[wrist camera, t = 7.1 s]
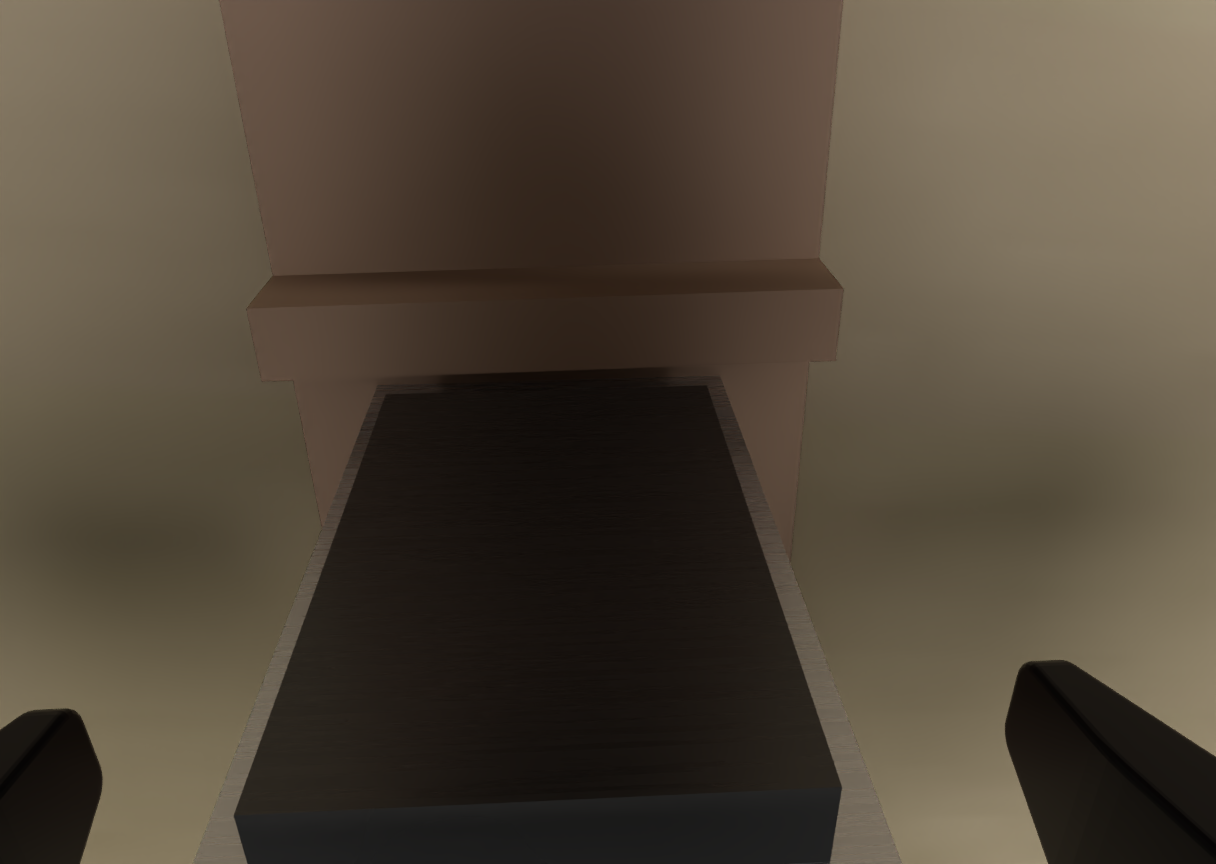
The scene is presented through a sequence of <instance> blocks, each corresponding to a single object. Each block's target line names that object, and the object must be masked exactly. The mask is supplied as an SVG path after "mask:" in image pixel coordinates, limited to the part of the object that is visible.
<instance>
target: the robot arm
mask: <svg viewBox="0 0 1216 864" xmlns="http://www.w3.org/2000/svg"><path fill="white" fill-rule="evenodd" d="M1005 737H1006V743H1007V747H1008V750H1009V753H1010V756H1011V759H1012V762H1013V765H1014V767H1015V770H1016V773H1017V776H1018V779H1019V782H1020V785H1021V787H1022V790H1023V793H1024V796H1025V799H1026V802H1027V805H1028V807H1029V810H1030V813H1031V816H1032V819H1033V822H1034V825H1035V828H1036V830H1037V833H1038V836H1039V839H1040V842H1041V845H1042V848H1043V850H1044V853H1045V856H1046V859H1047V862H1048V864H1216V757H1215V756H1214V755H1212V754H1211V753H1209V752H1208V751H1206V750H1205V749H1203V748H1201V747H1200V746H1198V745H1197V744H1195V743H1194V742H1192V741H1191V740H1189V739H1188V738H1186V737H1185V736H1183V735H1182V734H1180V733H1178V732H1177V731H1175V730H1174V729H1172V728H1171V727H1169V726H1168V725H1166V724H1165V723H1163V722H1162V721H1160V720H1159V719H1157V718H1155V717H1154V716H1152V715H1151V714H1149V713H1148V712H1146V711H1145V710H1143V709H1142V708H1140V707H1139V706H1137V705H1136V704H1134V703H1132V702H1131V701H1129V700H1128V699H1126V698H1125V697H1123V696H1122V695H1120V694H1119V693H1117V692H1116V691H1114V690H1113V689H1111V688H1109V687H1108V686H1106V685H1105V684H1103V683H1102V682H1100V681H1099V680H1097V679H1096V678H1094V677H1093V676H1091V675H1090V674H1088V673H1086V672H1085V671H1083V670H1082V669H1080V668H1079V667H1077V666H1076V665H1074V664H1072V663H1070V662H1068V661H1064V660H1048V661H1030V662H1027V663H1025V664H1024V665H1022V667H1021V668H1020V669H1019V672H1018V675H1017V678H1016V682H1015V686H1014V690H1013V694H1012V698H1011V702H1010V706H1009V710H1008V714H1007V718H1006V723H1005ZM102 780H103V778H102V771H101V767H100V764H99V761H98V759H97V756H96V753H95V751H94V748H93V746H92V743H91V740H90V738H89V735H88V733H87V730H86V727H85V725H84V722H83V720H82V718H81V716H80V715H79V714H78V713H77V712H76V711H74V710H72V709H46V710H33V711H29V712H26V713H24V714H22V715H21V716H19V717H18V718H16V719H15V720H13V721H12V722H11V723H9V724H8V725H6V726H5V727H4V728H2V729H1V730H0V864H80V862H81V859H82V856H83V852H84V849H85V846H86V842H87V839H88V836H89V833H90V829H91V826H92V823H93V820H94V816H95V813H96V810H97V806H98V803H99V800H100V796H101V792H102Z"/></svg>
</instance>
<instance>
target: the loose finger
mask: <svg viewBox="0 0 1216 864" xmlns="http://www.w3.org/2000/svg"><path fill="white" fill-rule="evenodd" d="M193 864H902V862H901V859H900V856H899V854H898V851H897V848H896V846H895V843H894V840H893V838H892V835H891V832H890V830H889V827H888V824H887V821H886V819H885V816H884V813H883V811H882V808H881V805H880V803H879V800H878V797H877V795H876V792H875V789H874V787H873V784H872V781H871V779H870V776H869V773H868V771H867V768H866V765H865V763H864V760H863V757H862V755H861V752H860V749H859V746H858V744H857V741H856V738H855V736H854V733H853V730H852V728H851V725H850V722H849V720H848V717H847V714H846V712H845V709H844V706H843V704H842V701H841V698H840V696H839V693H838V690H837V688H836V685H835V682H834V679H833V677H832V674H831V671H830V669H829V666H828V663H827V661H826V658H825V655H824V653H823V650H822V647H821V645H820V642H819V639H818V637H817V634H816V631H815V629H814V626H813V623H812V621H811V618H810V615H809V613H808V610H807V607H806V604H805V602H804V599H803V596H802V594H801V591H800V588H799V586H798V583H797V580H796V578H795V575H794V572H793V570H792V567H791V564H790V562H789V559H788V556H787V554H786V551H785V548H784V546H783V543H782V540H781V538H780V535H779V532H778V529H777V527H776V524H775V521H774V519H773V516H772V513H771V511H770V508H769V505H768V503H767V500H766V497H765V495H764V492H763V489H762V487H761V484H760V481H759V479H758V476H757V473H756V471H755V468H754V465H753V462H752V460H751V457H750V454H749V452H748V449H747V446H746V444H745V441H744V438H743V436H742V433H741V430H740V428H739V425H738V422H737V420H736V417H735V414H734V412H733V409H732V406H731V404H730V401H729V398H728V396H727V393H726V390H725V387H724V385H723V382H722V379H721V377H720V376H689V377H653V378H617V379H581V380H545V381H509V382H473V383H437V384H402V385H377V388H376V390H375V393H374V396H373V398H372V401H371V403H370V406H369V409H368V411H367V414H366V416H365V419H364V422H363V424H362V427H361V429H360V432H359V434H358V437H357V440H356V442H355V445H354V447H353V450H352V453H351V455H350V458H349V460H348V463H347V466H346V468H345V471H344V473H343V476H342V478H341V481H340V484H339V486H338V489H337V491H336V494H335V497H334V499H333V502H332V504H331V507H330V510H329V512H328V515H327V517H326V520H325V522H324V525H323V528H322V530H321V533H320V535H319V538H318V541H317V543H316V546H315V548H314V551H313V554H312V556H311V559H310V561H309V564H308V566H307V569H306V572H305V574H304V577H303V579H302V582H301V585H300V587H299V590H298V592H297V595H296V598H295V600H294V603H293V605H292V608H291V610H290V613H289V616H288V618H287V621H286V623H285V626H284V629H283V631H282V634H281V636H280V639H279V642H278V644H277V647H276V649H275V652H274V654H273V657H272V660H271V662H270V665H269V667H268V670H267V673H266V675H265V678H264V680H263V683H262V686H261V688H260V691H259V693H258V696H257V698H256V701H255V704H254V706H253V709H252V711H251V714H250V717H249V719H248V722H247V724H246V727H245V730H244V732H243V735H242V737H241V740H240V742H239V745H238V748H237V750H236V753H235V755H234V758H233V761H232V763H231V766H230V768H229V771H228V774H227V776H226V779H225V781H224V784H223V786H222V789H221V792H220V794H219V797H218V799H217V802H216V805H215V807H214V810H213V812H212V815H211V818H210V820H209V823H208V825H207V828H206V830H205V833H204V836H203V838H202V841H201V843H200V846H199V849H198V851H197V854H196V856H195V859H194V862H193Z"/></svg>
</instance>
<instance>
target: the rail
mask: <svg viewBox="0 0 1216 864" xmlns="http://www.w3.org/2000/svg"><path fill="white" fill-rule="evenodd" d="M219 2H220V7H221V12H222V17H223V23H224V28H225V33H226V38H227V43H228V48H229V53H230V59H231V64H232V69H233V74H234V79H235V84H236V89H237V94H238V100H239V105H240V110H241V115H242V120H243V125H244V130H245V136H246V141H247V146H248V151H249V156H250V161H251V166H252V172H253V177H254V182H255V187H256V192H257V197H258V202H259V207H260V213H261V218H262V223H263V228H264V233H265V238H266V243H267V249H268V254H269V259H270V264H271V269H272V274H273V276H272V277H271V279H270V280H269V281H268V282H267V284H266V285H265V286H264V287H263V289H262V290H261V291H260V292H259V293H258V295H257V296H256V297H255V298H254V300H253V301H252V302H251V303H250V305H249V306H248V307H247V308H246V310H247V315H248V320H249V324H250V329H251V334H252V338H253V343H254V348H255V353H256V357H257V362H258V367H259V371H260V376H261V381H262V382H264V381H291V380H293V382H294V387H295V392H296V398H297V403H298V408H299V413H300V418H301V423H302V428H303V434H304V439H305V444H306V449H307V454H308V459H309V464H310V469H311V475H312V480H313V485H314V490H315V495H316V500H317V505H318V511H319V516H320V521H321V526H322V528H323V525H324V522H325V520H326V517H327V515H328V512H329V510H330V507H331V504H332V502H333V499H334V497H335V494H336V491H337V489H338V486H339V484H340V481H341V478H342V476H343V473H344V471H345V468H346V466H347V463H348V460H349V458H350V455H351V453H352V450H353V447H354V445H355V442H356V440H357V437H358V434H359V432H360V429H361V427H362V424H363V422H364V419H365V416H366V414H367V411H368V409H369V406H370V403H371V401H372V398H373V396H374V393H375V390H376V388H377V385H402V384H437V383H473V382H509V381H545V380H581V379H617V378H653V377H689V376H720V377H721V379H722V382H723V385H724V387H725V390H726V393H727V396H728V398H729V401H730V404H731V406H732V409H733V412H734V414H735V417H736V420H737V422H738V425H739V428H740V430H741V433H742V436H743V438H744V441H745V444H746V446H747V449H748V452H749V454H750V457H751V460H752V462H753V465H754V468H755V471H756V473H757V476H758V479H759V481H760V484H761V487H762V489H763V492H764V495H765V497H766V500H767V503H768V505H769V508H770V511H771V513H772V516H773V519H774V521H775V524H776V527H777V529H778V532H779V535H780V538H781V540H782V543H783V546H784V548H785V551H786V554H787V556H788V559H789V562H791V551H792V541H793V530H794V519H795V509H796V498H797V487H798V477H799V466H800V455H801V445H802V434H803V423H804V413H805V402H806V391H807V381H808V370H809V362H815V361H836V354H837V344H838V335H839V326H840V317H841V308H842V298H843V287H842V286H841V285H840V284H839V282H838V281H837V280H836V279H835V277H834V276H833V275H832V274H831V273H830V271H829V270H828V269H827V268H826V266H825V265H824V264H823V263H822V261H821V260H820V259H819V253H820V242H821V231H822V221H823V210H824V199H825V189H826V178H827V167H828V157H829V146H830V135H831V125H832V114H833V103H834V93H835V82H836V71H837V61H838V50H839V39H840V29H841V18H842V7H843V0H219Z"/></svg>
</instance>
